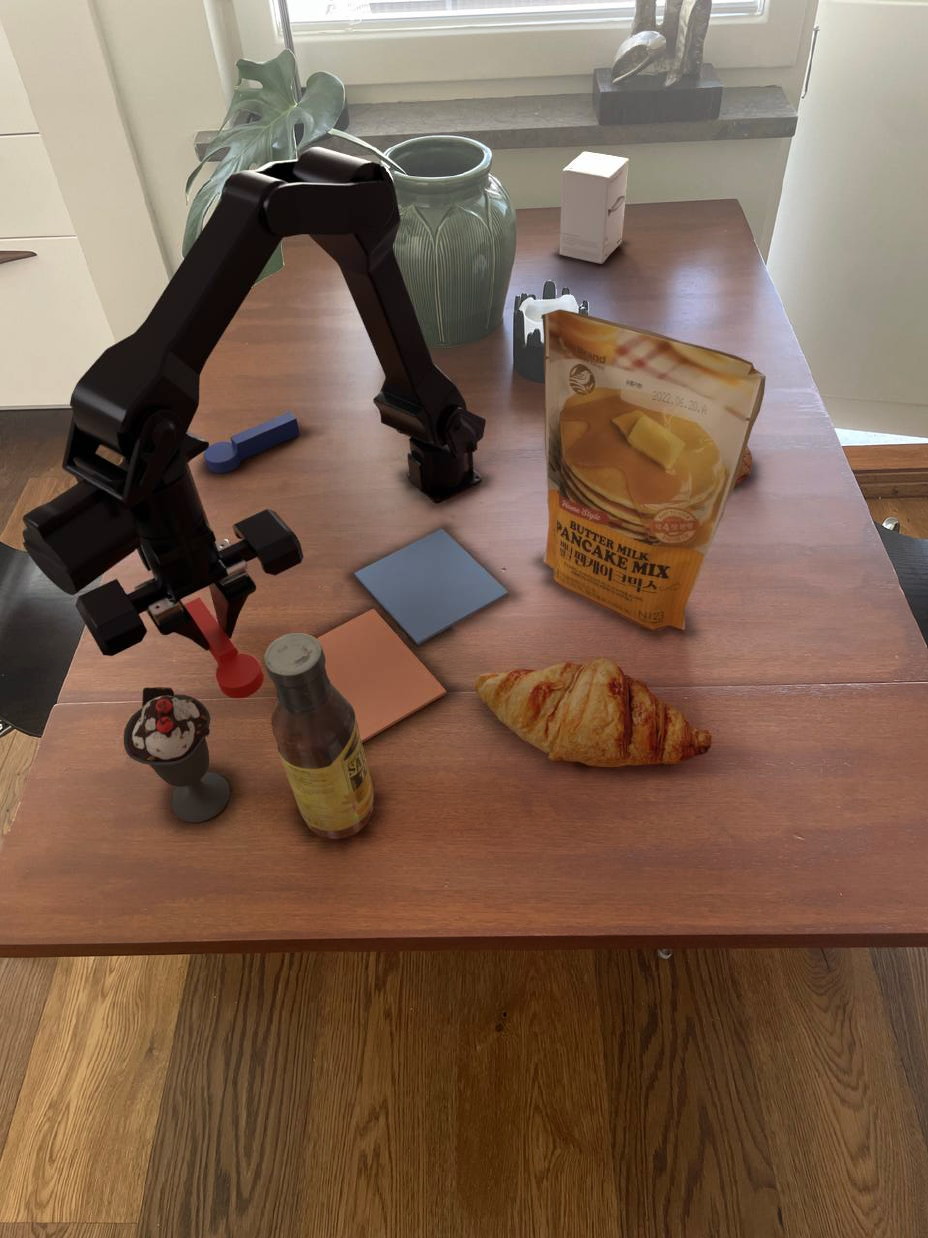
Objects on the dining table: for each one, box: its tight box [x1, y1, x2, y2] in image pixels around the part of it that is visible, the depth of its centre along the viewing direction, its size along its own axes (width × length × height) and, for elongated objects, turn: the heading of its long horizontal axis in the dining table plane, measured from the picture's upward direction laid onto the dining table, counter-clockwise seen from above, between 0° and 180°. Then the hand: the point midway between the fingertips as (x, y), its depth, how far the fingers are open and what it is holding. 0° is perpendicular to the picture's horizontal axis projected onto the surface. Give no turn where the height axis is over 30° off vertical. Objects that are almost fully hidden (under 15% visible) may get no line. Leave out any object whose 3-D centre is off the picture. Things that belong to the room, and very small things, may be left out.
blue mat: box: [354, 528, 510, 646], centre depth 94 cm, size 11×12×1 cm
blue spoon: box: [203, 411, 301, 474], centre depth 110 cm, size 12×4×2 cm, turn 125°
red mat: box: [316, 608, 447, 744], centre depth 87 cm, size 10×13×1 cm
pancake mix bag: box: [541, 308, 767, 633], centre depth 82 cm, size 7×19×28 cm, turn 52°
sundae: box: [123, 686, 231, 824], centre depth 73 cm, size 7×7×15 cm
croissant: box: [474, 657, 713, 768], centre depth 79 cm, size 21×10×8 cm, turn 70°
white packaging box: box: [558, 151, 629, 265], centre depth 135 cm, size 7×7×13 cm
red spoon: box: [183, 596, 265, 699], centre depth 85 cm, size 12×4×2 cm, turn 35°
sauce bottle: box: [263, 632, 375, 840], centre depth 70 cm, size 6×6×20 cm
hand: (216, 641), depth 86 cm, fingers closed on red spoon, 2 cm apart
